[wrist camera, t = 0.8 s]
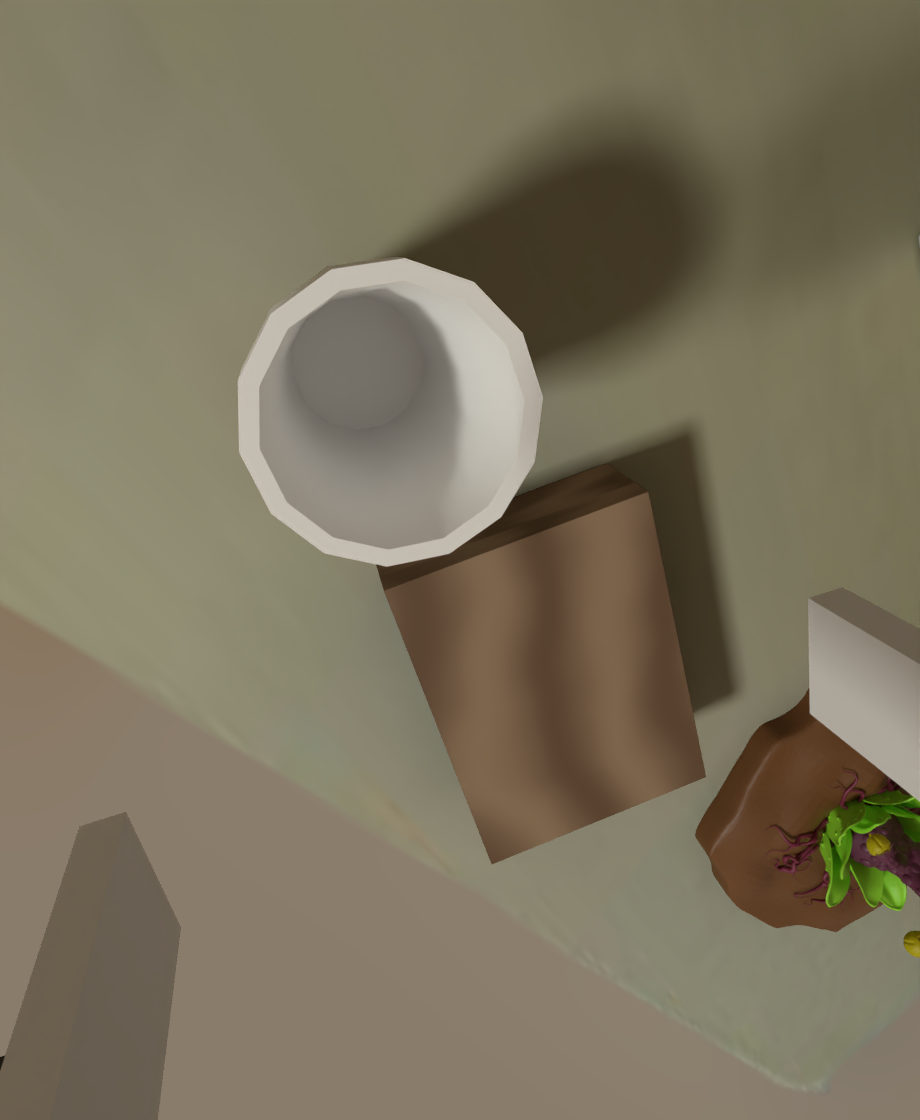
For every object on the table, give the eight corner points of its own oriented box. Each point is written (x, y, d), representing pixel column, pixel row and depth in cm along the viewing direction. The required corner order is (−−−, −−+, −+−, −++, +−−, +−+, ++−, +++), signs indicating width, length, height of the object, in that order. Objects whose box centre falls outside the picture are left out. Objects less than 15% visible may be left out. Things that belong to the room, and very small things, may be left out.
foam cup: (496, 357, 36) (599, 412, 24) (368, 499, 38) (408, 616, 26) (343, 204, 32) (379, 183, 21) (207, 368, 34) (168, 436, 22)
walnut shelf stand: (606, 463, 39) (648, 491, 35) (665, 725, 47) (705, 776, 43) (372, 550, 39) (384, 590, 34) (471, 803, 46) (491, 864, 42)
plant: (645, 856, 52) (734, 1004, 42) (832, 631, 48) (980, 735, 38) (826, 933, 59) (938, 1074, 49) (1000, 745, 55) (1161, 857, 45)
